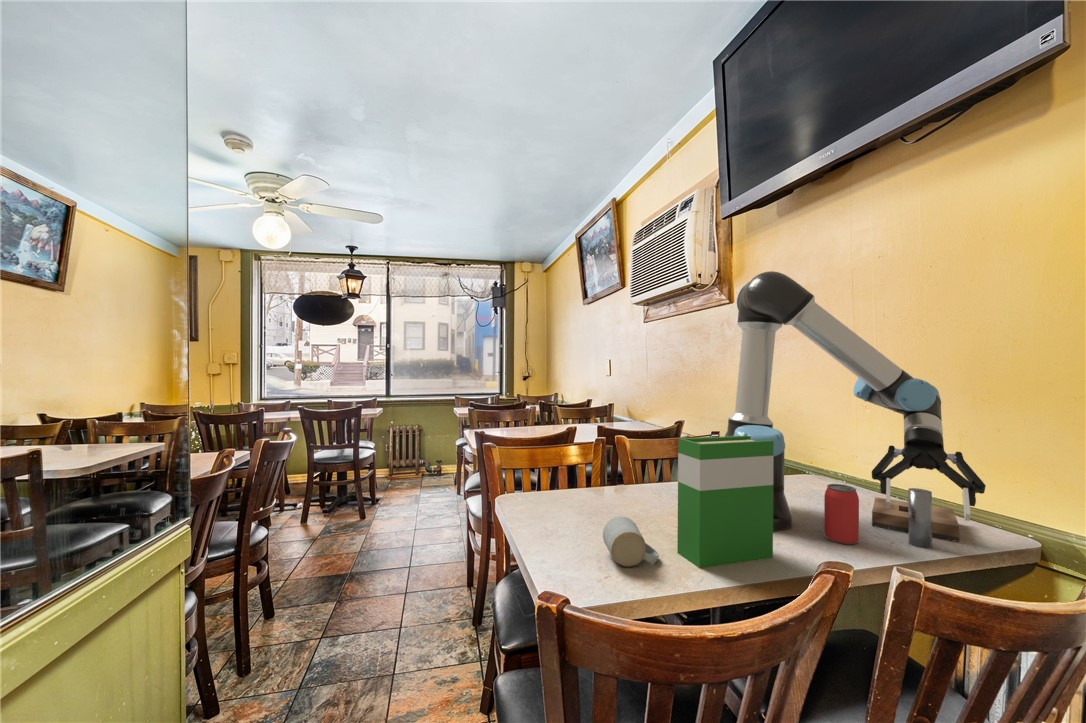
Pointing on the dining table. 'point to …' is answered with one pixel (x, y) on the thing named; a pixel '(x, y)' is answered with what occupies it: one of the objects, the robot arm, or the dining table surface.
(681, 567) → the dining table surface
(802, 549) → the dining table surface
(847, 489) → the beer can
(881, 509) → the socket block
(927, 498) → the steel pin
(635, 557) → the ceramic mug
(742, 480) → the cereal box
